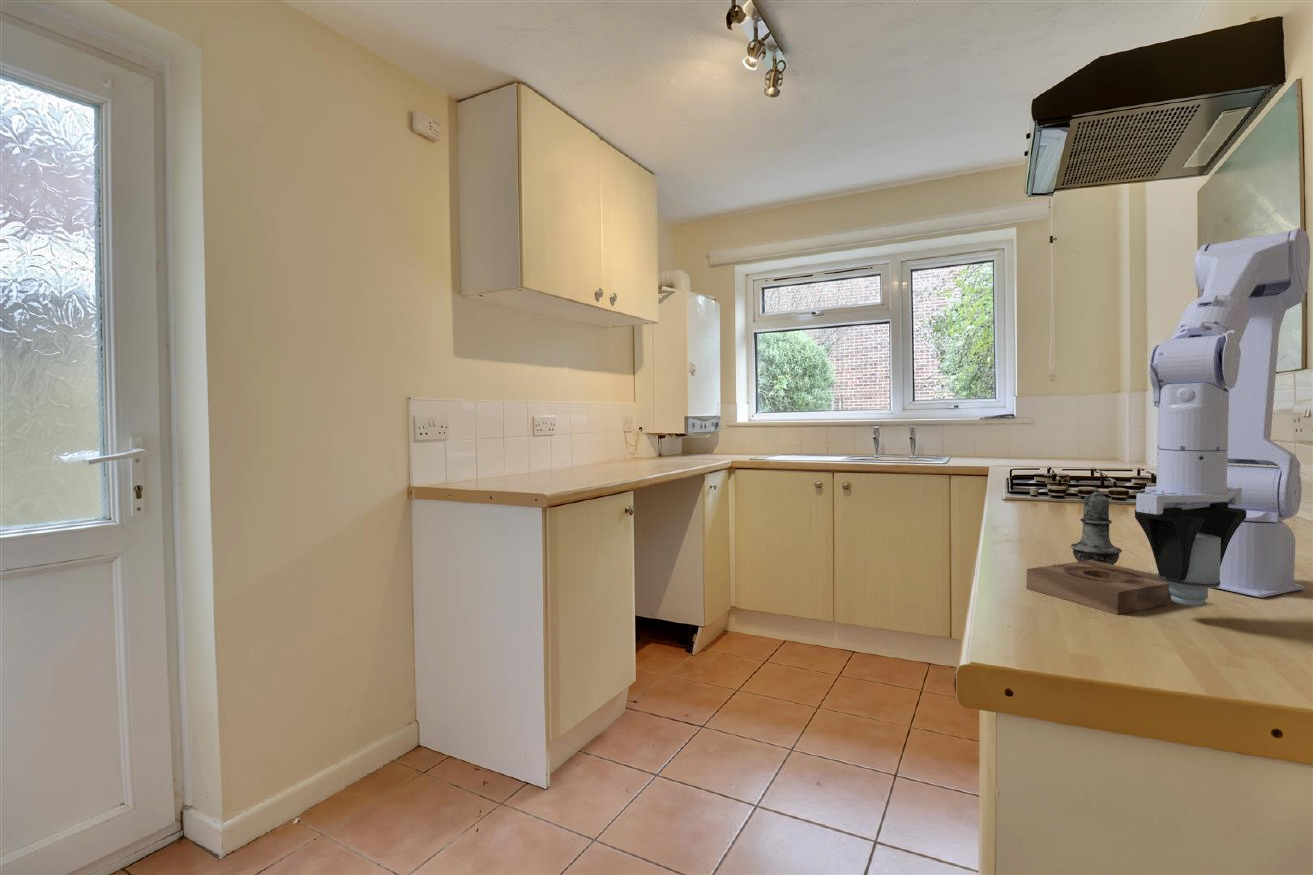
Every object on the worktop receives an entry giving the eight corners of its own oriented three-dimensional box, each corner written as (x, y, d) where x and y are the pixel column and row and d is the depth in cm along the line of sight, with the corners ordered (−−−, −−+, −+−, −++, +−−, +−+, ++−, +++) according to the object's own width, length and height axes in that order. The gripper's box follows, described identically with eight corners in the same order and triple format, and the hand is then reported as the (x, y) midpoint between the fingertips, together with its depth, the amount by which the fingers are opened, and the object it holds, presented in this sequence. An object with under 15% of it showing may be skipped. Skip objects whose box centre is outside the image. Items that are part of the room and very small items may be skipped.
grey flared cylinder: (1131, 579, 82) (1132, 490, 82) (1082, 578, 83) (1083, 489, 83) (1107, 568, 88) (1108, 485, 88) (1061, 567, 89) (1063, 484, 89)
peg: (1175, 593, 70) (1177, 529, 70) (1230, 606, 65) (1232, 537, 65) (1146, 598, 68) (1147, 533, 68) (1201, 612, 63) (1202, 542, 63)
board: (1090, 578, 83) (1090, 559, 83) (1184, 601, 73) (1185, 580, 73) (1026, 588, 79) (1026, 568, 79) (1117, 614, 69) (1117, 592, 68)
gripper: (1189, 445, 72) (1187, 560, 73) (1106, 450, 67) (1104, 573, 68) (1267, 448, 66) (1263, 574, 66) (1181, 454, 60) (1178, 590, 61)
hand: (1188, 575), depth 66 cm, fingers closed on peg, 5 cm apart
